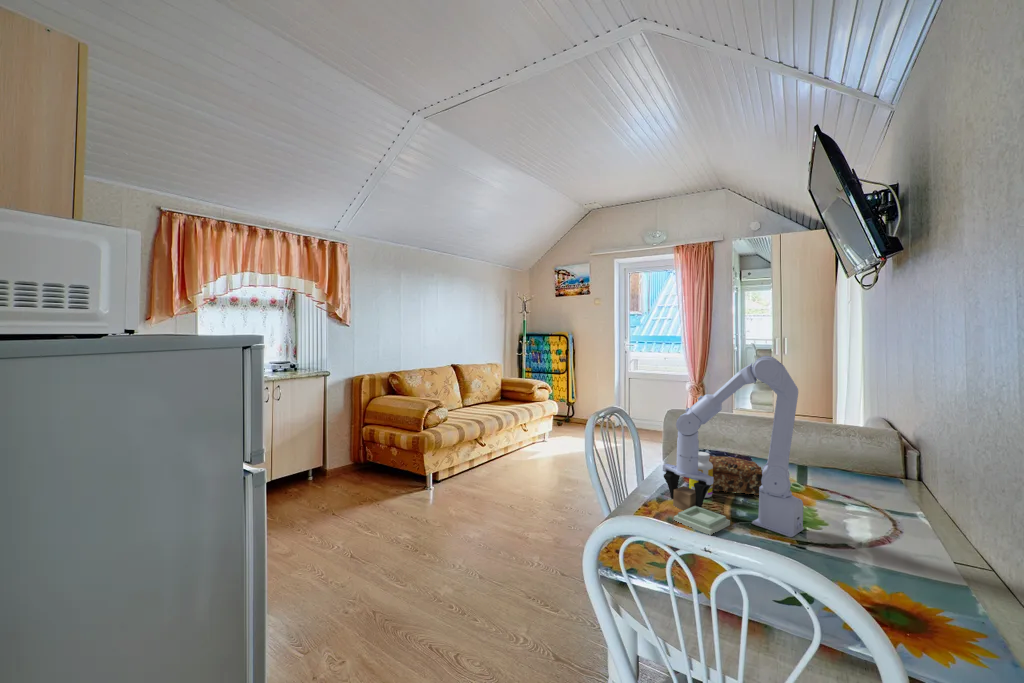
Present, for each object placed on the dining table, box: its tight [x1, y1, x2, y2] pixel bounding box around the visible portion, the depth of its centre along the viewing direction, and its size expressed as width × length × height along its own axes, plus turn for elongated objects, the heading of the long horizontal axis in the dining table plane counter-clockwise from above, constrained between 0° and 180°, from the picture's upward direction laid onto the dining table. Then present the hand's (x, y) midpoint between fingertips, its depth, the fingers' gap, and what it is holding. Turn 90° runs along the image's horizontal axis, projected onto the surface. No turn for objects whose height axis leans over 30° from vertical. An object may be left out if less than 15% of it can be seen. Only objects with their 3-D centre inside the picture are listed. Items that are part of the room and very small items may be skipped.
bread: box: [709, 455, 762, 496], centre depth 140 cm, size 19×11×10 cm, turn 73°
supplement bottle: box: [688, 451, 714, 499], centre depth 134 cm, size 7×7×13 cm
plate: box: [673, 506, 731, 536], centre depth 114 cm, size 10×10×2 cm
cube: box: [672, 485, 696, 511], centre depth 124 cm, size 5×5×5 cm
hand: (686, 502), depth 124 cm, fingers open, 7 cm apart
